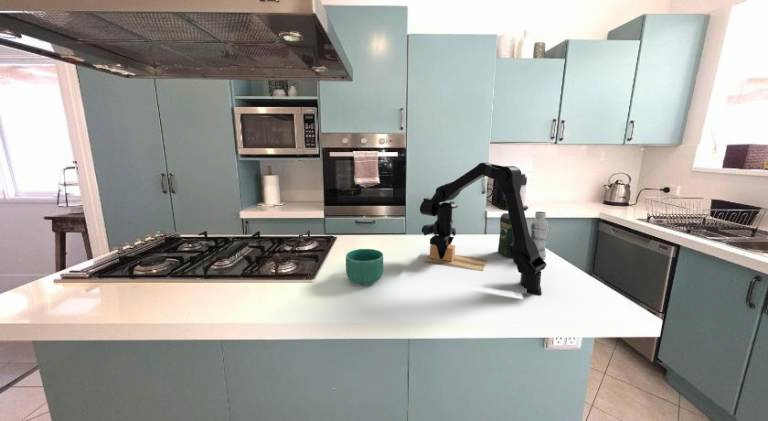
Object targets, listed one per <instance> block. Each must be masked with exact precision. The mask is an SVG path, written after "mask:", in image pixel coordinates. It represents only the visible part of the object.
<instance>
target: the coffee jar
mask: <svg viewBox="0 0 768 421" xmlns="http://www.w3.org/2000/svg"><path fill="white" fill-rule="evenodd" d="M499 228H500V230H499V238H498V239H499V241H498V247H497V253H498V255H500V256H502V257H503V258H507V259H511V258H510V257H511V253H510V250H509V245H511V244H513V241H514V236H513V232H512V227H511V223H510V218H509V213H508V212H505V213H504V212H503V213H502V214H501V216H500V219H499Z"/></svg>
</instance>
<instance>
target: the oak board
mask: <svg viewBox="0 0 768 421" xmlns="http://www.w3.org/2000/svg"><path fill="white" fill-rule="evenodd" d="M429 257H430V254H429V255H428V257H426V259H424V261H423V263H424V264H432V265H438V266H444V267H452V268H458V269H465V270H473V271H478V272H479V271H480V272H483V271H484V269H485V266H486V263H487V260H488V259H487V258H482V257H475V256H468V255H467V256H466V255H460V254H459V255H458V254H455V255H454V257H455V258H454V259H453V261H447V260H440V259H434V258H429Z"/></svg>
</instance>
